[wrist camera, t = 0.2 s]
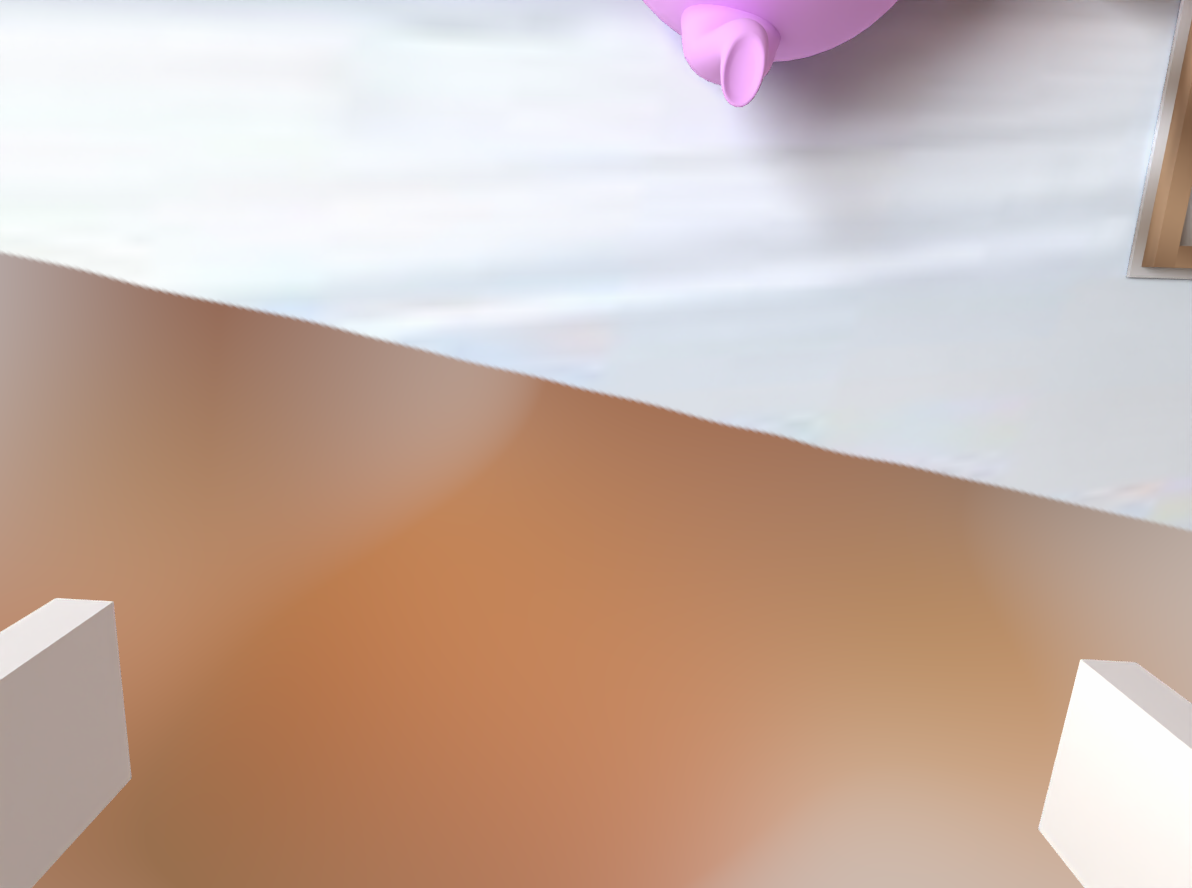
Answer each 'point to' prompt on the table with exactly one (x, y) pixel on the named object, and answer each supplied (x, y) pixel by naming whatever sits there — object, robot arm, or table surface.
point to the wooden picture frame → (1169, 172)
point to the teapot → (760, 35)
